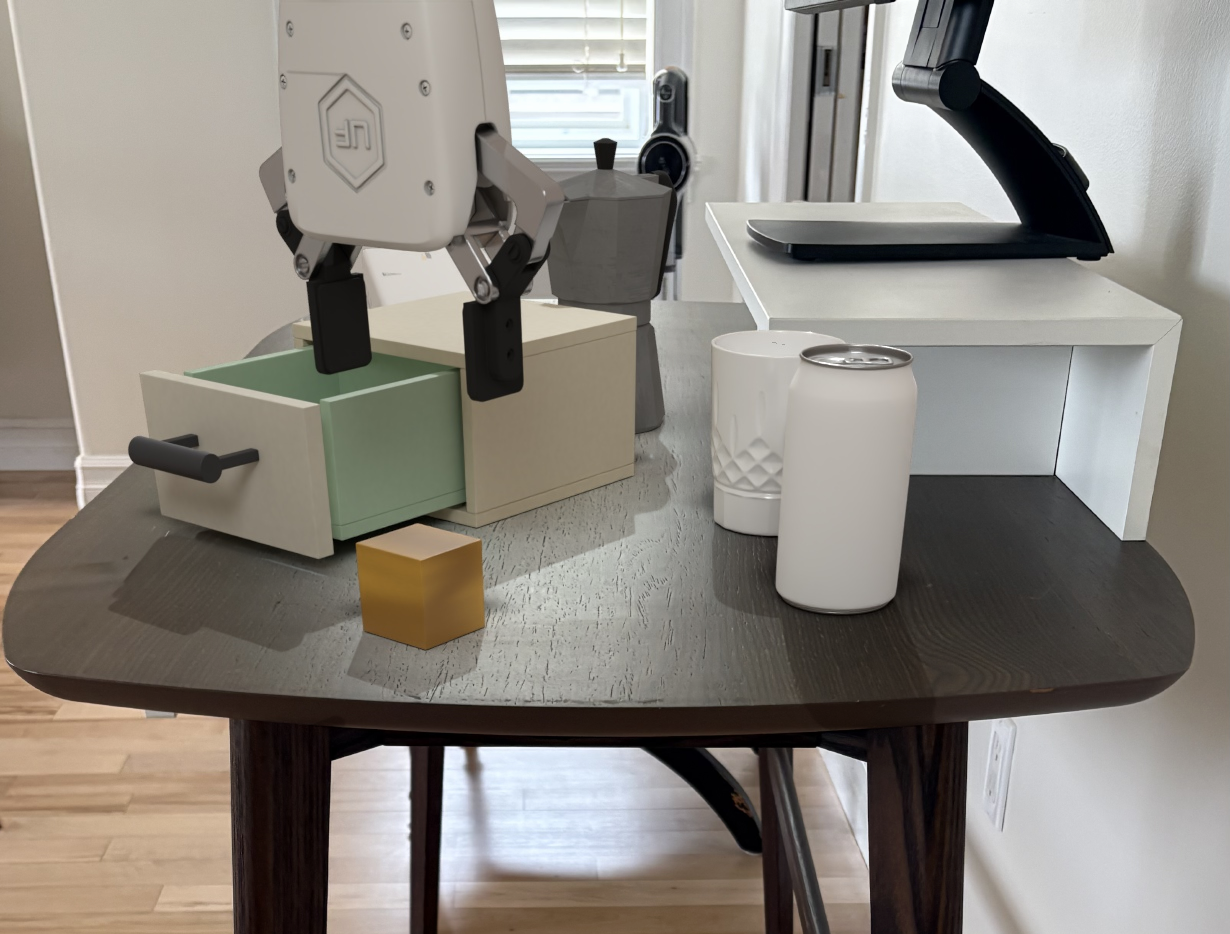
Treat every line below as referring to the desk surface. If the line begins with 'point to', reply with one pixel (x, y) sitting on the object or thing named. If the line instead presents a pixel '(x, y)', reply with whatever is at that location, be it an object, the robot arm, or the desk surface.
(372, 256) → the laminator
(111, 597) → the desk surface
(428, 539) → the block
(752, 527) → the white cup
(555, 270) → the coffeepot
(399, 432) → the drawer
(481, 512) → the cabinet
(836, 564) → the can
